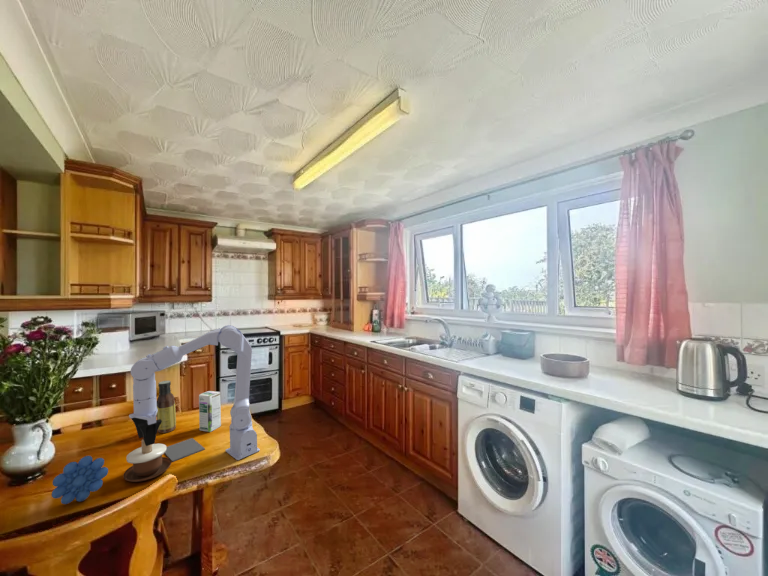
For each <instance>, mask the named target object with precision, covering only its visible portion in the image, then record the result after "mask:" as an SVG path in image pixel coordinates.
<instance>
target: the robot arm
mask: <svg viewBox="0 0 768 576" xmlns="http://www.w3.org/2000/svg"><path fill="white" fill-rule="evenodd" d="M219 343H220V345H221V346H223V347H225V348H227V349H231V350H232V351H233V352H234V353H236V355H237V357H236V368H235V369H236V372H235V388H234V398H233V399H234V400H233V405H232V407H231V409H230V417H231V418H230V419H231V420H230V422H231V423H230V425H229V448H226V449H225V452H226V453H227V454H229V455H230V456H231V457H232V458H234V459H235V461H240V460H241V459H244V458H246V457H249V456H251V455H253V454H255V453H256V454H257V453H258V452H259V451H261V450H260V448H259V447H258V434H257V432H256V431H255V429H254V428H253V421H252V415H251V412H250V387H251V386H250V385H251V373H252V372H251V371H252V356H253V354H252V353H253V349H252V346H251V344H250V343H249V341H248V340H247V338H246V337H245V335H244V334H243V333H242V331H241V330H240V329H238V328H237V327H235V326H234V325H229V324H228V325H224V326H223V327H218V328H216V329H213V330H210V331H208V332H206V333H204V334H202V335H200V336H198V337H196V338H193V339H192V340H190V341H187V342H185V343H183V344H182V345H179V346H176V345H166V346H163V348H162V349H161V350H159V351H157V352H155V353H149V354H147V355H145V356H146V357H143V358H140V359H138V360H137V361H136V362H134V364H133V365H132V366H131V368H130V375H131V377H132V378H133V379H132V382H133V384H132V397H133V413H130V414H129V415H128V417H129V419H131V421H132V422H133V424H134V426H135V428H136V429H135V430H136V433H137V436H138V438H139V439H144V442H145V445H146V446H148V445H151V444H156V438H157V434H158V428H159V426H160V424H161V422H162V420H161V419H159V420H157V412H158V409H157V381H156V372H160V371H162V370H164V369H167V368H169V367H171V366H173V365H175V364H177V363H179V362H181V361H182V360H183V357H184V356H186V355H188V354H190V353H191V352H194V351H197V350H199V349H202V348H204V347H207V346H209V345H210V346H219Z"/></svg>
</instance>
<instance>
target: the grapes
mask: <svg viewBox="0 0 768 576" xmlns="http://www.w3.org/2000/svg"><path fill="white" fill-rule="evenodd" d="M104 465H105V459H104V458H103V457H97V458H96V459H94V460H93V457H92V456H91V455H85V456H83V457H82V458H80V459H79V461H78V462H76V461H70V462H68V463H67V464H66V465H65V466H64V467H63V471H62V473H59V474H58V475H56V476H55V477H54V478H53V479H52V485H53V486H54V487H55V488H54V489H53V490H52V492H51V497H52V498H53V499H60V502H61V504H63V505H67V504H70V503H71V502H73V501H74V500H76V502H84V501H85V500H87V499H88V498H89V496H90V494H91V493H92V492H97V491H98V490H99V489H101V488H102V486H103V483H104V481H103V478H105V477H107V475H108V473H109V468H108V467H106V466H104Z"/></svg>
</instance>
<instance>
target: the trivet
mask: <svg viewBox="0 0 768 576" xmlns="http://www.w3.org/2000/svg"><path fill="white" fill-rule="evenodd" d="M166 447H167V450H166V452H165V453H164V455H165V456H167V457H166V458H169V459H170V460H171V463H174V462H176V461H179V460H182V459H184V458H186V457H189V456H192V455H195V454H197V453H200V452H202V451H204V450H206V448H205V447H204V446H203V445H202V444H201V443H199V442H198V441H197V440H195V439H194V438H193V437H192V438H187V439H186V440H182V441H180V442H177V443H174V444H171V445H168V446H166Z"/></svg>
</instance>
